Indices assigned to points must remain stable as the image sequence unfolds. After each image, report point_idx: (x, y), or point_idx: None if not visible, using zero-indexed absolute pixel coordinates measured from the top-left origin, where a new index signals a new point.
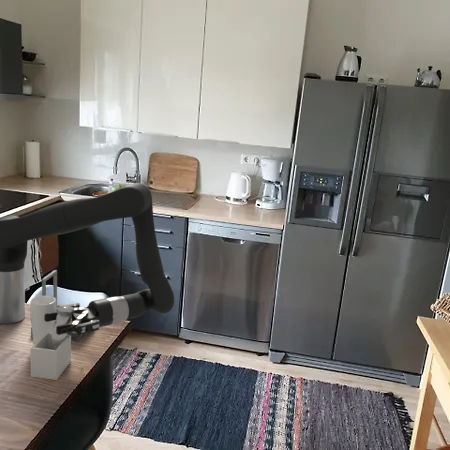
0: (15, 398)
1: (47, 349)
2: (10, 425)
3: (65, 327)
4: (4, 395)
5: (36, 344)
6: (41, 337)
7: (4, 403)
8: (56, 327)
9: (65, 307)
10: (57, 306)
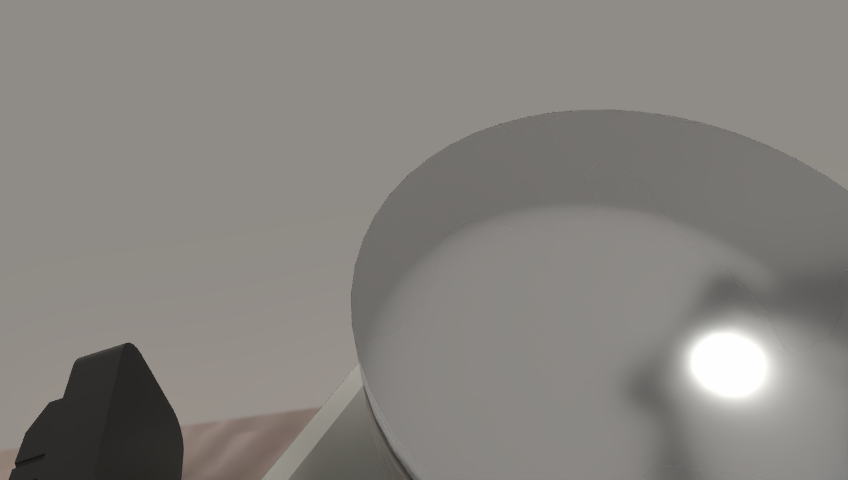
0: (216, 465)
1: (278, 477)
2: (6, 470)
3: (37, 476)
4: (276, 413)
5: None
6: None
7: (203, 423)
8: (129, 349)
9: (600, 263)
10: (553, 112)
